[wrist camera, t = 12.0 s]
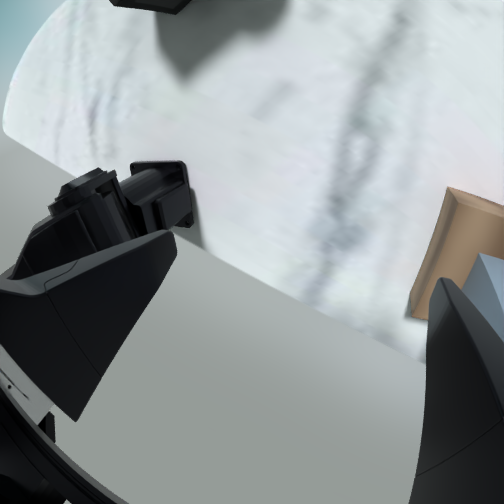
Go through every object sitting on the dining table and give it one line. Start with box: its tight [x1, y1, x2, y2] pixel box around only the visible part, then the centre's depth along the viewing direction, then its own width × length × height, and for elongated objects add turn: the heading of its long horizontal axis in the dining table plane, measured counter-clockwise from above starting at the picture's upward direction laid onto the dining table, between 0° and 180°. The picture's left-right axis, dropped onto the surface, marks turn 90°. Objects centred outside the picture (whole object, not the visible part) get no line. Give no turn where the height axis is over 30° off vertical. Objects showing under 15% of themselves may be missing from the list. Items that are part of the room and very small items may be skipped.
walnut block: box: [410, 187, 504, 320], centre depth 16 cm, size 10×10×3 cm
